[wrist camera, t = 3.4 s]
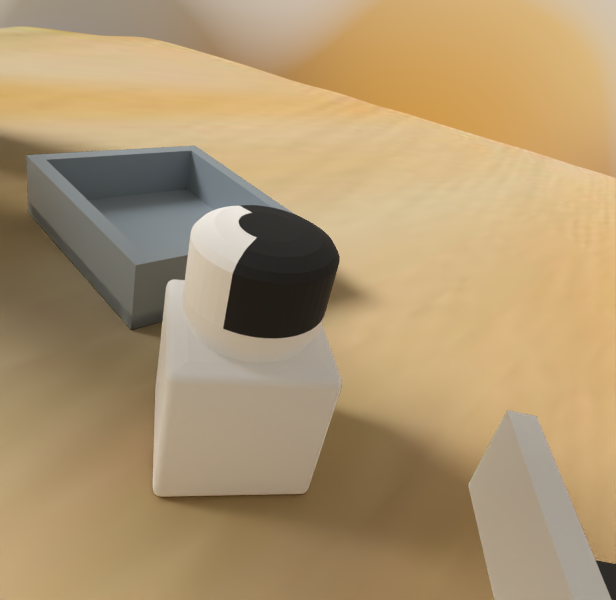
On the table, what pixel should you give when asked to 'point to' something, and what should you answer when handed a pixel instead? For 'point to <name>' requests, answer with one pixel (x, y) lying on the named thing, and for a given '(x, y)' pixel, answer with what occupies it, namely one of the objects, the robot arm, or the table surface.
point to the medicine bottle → (246, 357)
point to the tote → (131, 216)
